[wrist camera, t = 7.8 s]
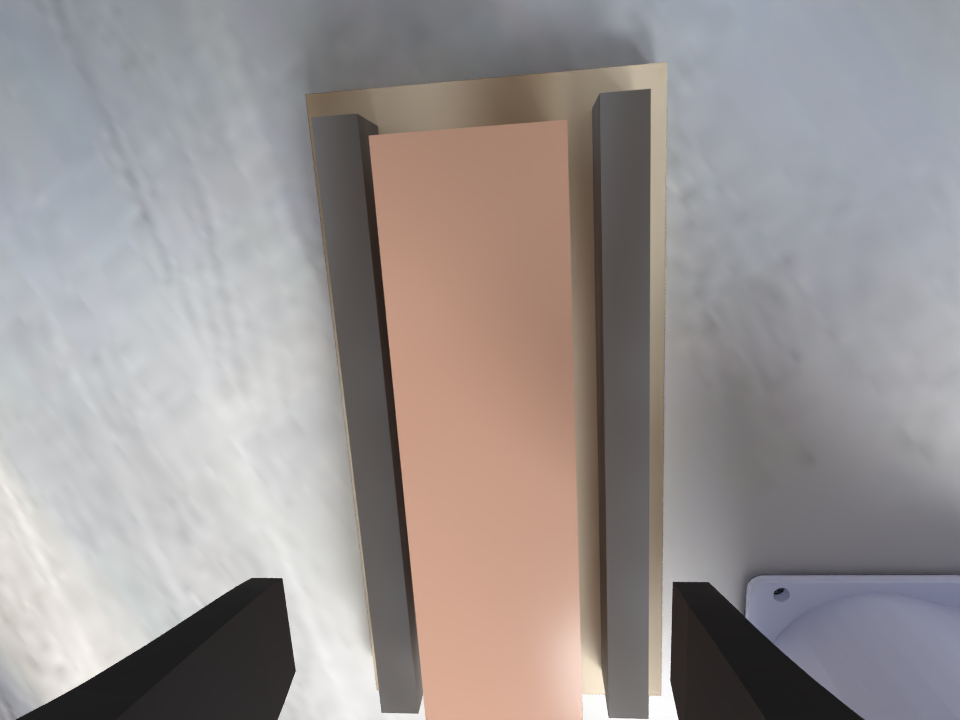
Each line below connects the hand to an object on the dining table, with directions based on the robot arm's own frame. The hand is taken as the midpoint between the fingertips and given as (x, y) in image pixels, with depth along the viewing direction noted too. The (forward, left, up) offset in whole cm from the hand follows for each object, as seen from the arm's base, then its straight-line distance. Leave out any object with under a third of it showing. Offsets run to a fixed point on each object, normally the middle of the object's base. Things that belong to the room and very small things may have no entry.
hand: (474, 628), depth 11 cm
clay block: (0, -1, -8) cm, 8 cm away
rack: (0, -1, -9) cm, 9 cm away
